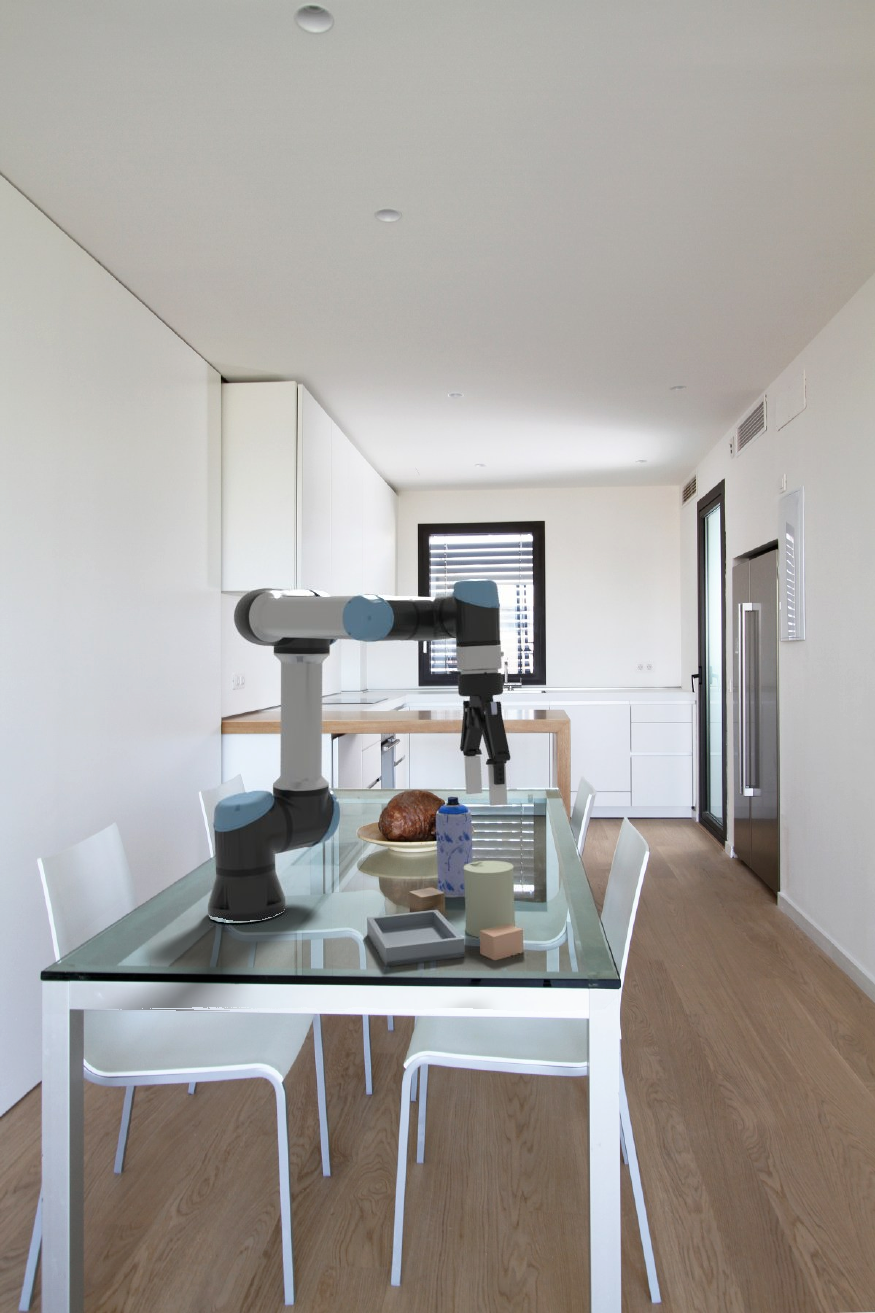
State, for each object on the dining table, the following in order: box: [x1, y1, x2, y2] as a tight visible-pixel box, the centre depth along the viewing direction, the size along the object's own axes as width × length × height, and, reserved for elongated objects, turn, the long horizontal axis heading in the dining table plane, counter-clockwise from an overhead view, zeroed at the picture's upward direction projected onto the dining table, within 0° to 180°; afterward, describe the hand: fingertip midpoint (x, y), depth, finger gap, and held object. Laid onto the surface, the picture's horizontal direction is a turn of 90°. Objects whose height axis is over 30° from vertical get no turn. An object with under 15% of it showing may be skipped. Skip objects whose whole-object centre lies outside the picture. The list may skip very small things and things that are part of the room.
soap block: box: [479, 924, 524, 961], centre depth 143 cm, size 6×4×4 cm, turn 122°
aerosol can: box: [435, 796, 474, 898], centre depth 181 cm, size 8×8×20 cm
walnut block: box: [408, 886, 446, 918], centre depth 164 cm, size 5×5×5 cm
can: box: [463, 860, 516, 938], centre depth 155 cm, size 9×9×12 cm
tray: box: [366, 910, 466, 968], centre depth 148 cm, size 17×13×3 cm
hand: (485, 799), depth 143 cm, fingers open, 13 cm apart
